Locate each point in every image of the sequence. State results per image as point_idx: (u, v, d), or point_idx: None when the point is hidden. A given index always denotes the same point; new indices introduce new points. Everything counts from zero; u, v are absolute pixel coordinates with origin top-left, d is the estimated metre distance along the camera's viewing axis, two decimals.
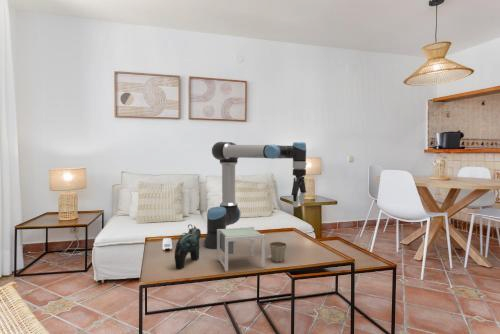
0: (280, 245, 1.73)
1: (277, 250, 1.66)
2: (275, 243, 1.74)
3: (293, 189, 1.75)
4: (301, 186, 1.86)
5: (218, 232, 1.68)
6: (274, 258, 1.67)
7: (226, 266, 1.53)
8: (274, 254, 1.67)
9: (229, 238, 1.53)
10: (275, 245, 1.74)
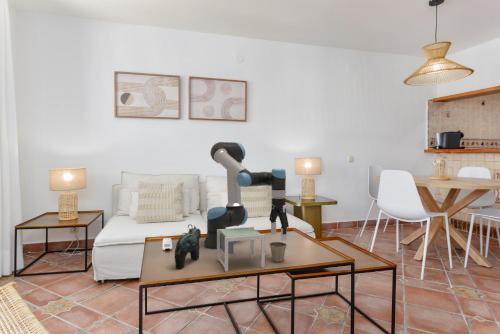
0: (280, 245, 1.73)
1: (277, 250, 1.66)
2: (275, 243, 1.74)
3: (284, 221, 1.60)
4: (276, 216, 1.73)
5: (218, 232, 1.68)
6: (274, 258, 1.67)
7: (226, 266, 1.53)
8: (274, 254, 1.67)
9: (229, 238, 1.53)
10: (275, 245, 1.74)
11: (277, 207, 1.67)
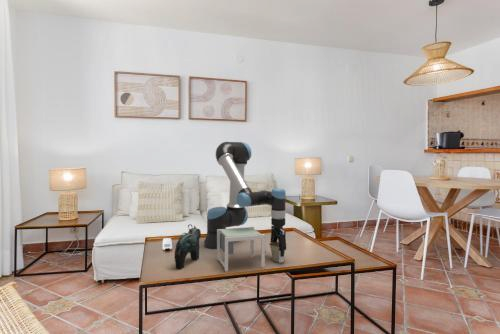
0: None
1: (277, 250, 1.66)
2: (275, 243, 1.74)
3: (282, 244, 1.62)
4: (276, 237, 1.72)
5: (218, 232, 1.68)
6: (274, 258, 1.67)
7: (226, 266, 1.53)
8: (274, 254, 1.67)
9: (229, 238, 1.53)
10: (275, 245, 1.74)
11: (277, 226, 1.68)
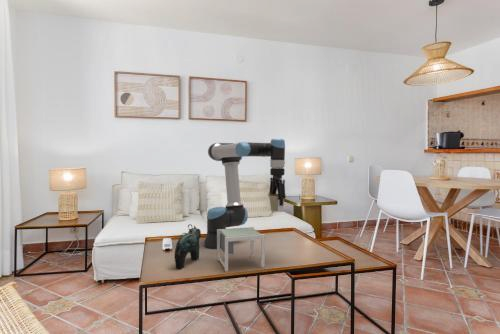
0: None
1: (276, 200, 1.65)
2: (274, 195, 1.73)
3: (282, 193, 1.61)
4: (275, 188, 1.71)
5: (218, 232, 1.68)
6: (273, 208, 1.66)
7: (226, 266, 1.53)
8: (273, 204, 1.66)
9: (229, 238, 1.53)
10: None
11: (276, 176, 1.67)
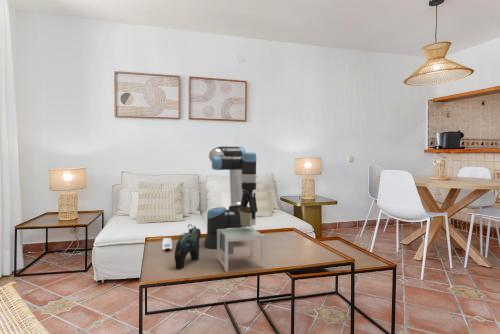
0: (250, 210, 1.70)
1: (245, 216, 1.63)
2: (245, 208, 1.71)
3: (253, 206, 1.56)
4: (246, 201, 1.68)
5: (218, 232, 1.68)
6: (242, 223, 1.66)
7: (226, 266, 1.53)
8: (242, 219, 1.65)
9: (229, 238, 1.53)
10: (245, 210, 1.71)
11: (247, 191, 1.63)
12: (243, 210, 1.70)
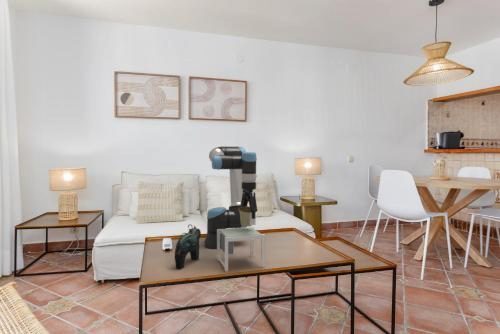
0: (250, 210, 1.70)
1: (245, 215, 1.63)
2: (245, 207, 1.71)
3: (253, 205, 1.56)
4: (246, 200, 1.69)
5: (218, 232, 1.68)
6: (242, 223, 1.66)
7: (226, 266, 1.53)
8: (242, 219, 1.65)
9: (229, 238, 1.53)
10: (245, 209, 1.71)
11: (247, 191, 1.63)
12: (243, 210, 1.70)
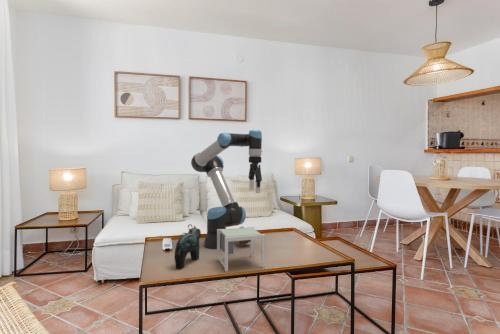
0: None
1: None
2: None
3: (258, 175, 1.80)
4: (253, 173, 1.93)
5: (218, 232, 1.68)
6: None
7: (226, 266, 1.53)
8: None
9: (229, 238, 1.53)
10: None
11: (253, 164, 1.87)
12: None
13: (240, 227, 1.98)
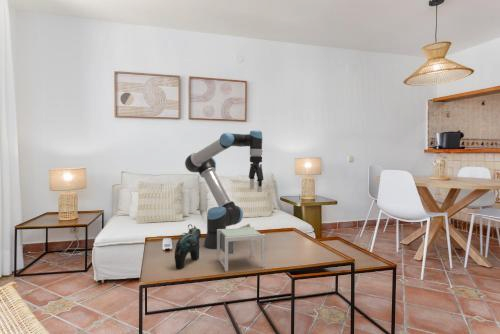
0: None
1: None
2: None
3: (260, 175, 1.84)
4: (254, 172, 1.97)
5: (218, 232, 1.68)
6: None
7: (226, 266, 1.53)
8: None
9: (229, 238, 1.53)
10: None
11: (254, 164, 1.92)
12: None
13: None
